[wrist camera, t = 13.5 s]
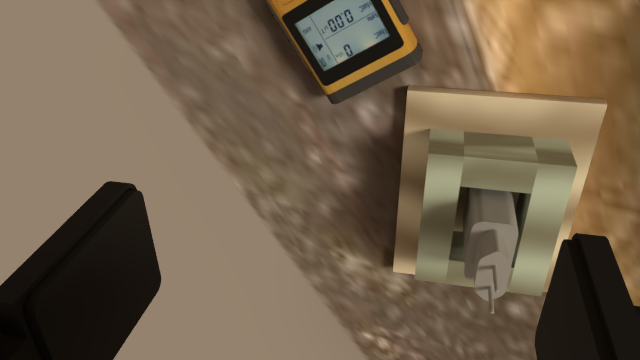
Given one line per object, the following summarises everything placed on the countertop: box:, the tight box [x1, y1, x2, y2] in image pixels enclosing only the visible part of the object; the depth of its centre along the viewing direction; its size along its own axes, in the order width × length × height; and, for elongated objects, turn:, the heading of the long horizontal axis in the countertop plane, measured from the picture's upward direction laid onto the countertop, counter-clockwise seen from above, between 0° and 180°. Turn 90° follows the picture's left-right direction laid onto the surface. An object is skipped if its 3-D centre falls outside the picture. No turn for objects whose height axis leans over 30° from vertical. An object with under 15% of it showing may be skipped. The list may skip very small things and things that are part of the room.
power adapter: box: [463, 187, 518, 314], centre depth 39 cm, size 3×5×12 cm, turn 0°
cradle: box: [393, 86, 607, 296], centre depth 43 cm, size 18×14×5 cm
